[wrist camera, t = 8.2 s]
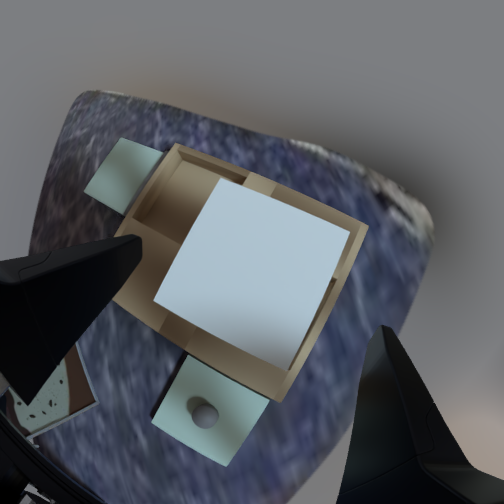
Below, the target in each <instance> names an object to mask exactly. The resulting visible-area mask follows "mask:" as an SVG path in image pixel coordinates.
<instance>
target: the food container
mask: <svg viewBox="0 0 504 504" xmlns="http://www.w3.org/2000/svg"><path fill="white" fill-rule="evenodd" d="M4 395H5V396H6V415H7V418H8V419H9V420H10V421H11V423H12V424H13V425H14V426H15V427H16V428H17V429H18V430H19V431H20V432H21V433H22V434H23V435H24V436H25V437H26V438H27V439H28V440H29V439H32V438H34V437H36V436H38V435H40V434H42V433H44V432H46V431H48V430H50V429H52V428H54V427H56V426H58V425H60V424H62V423H64V422H66V421H68V420H70V419H72V418H74V417H76V416H77V415H79V414H81V413H83V412H85V411H87V410H89V409H91V408H93V407H94V406H96V405H98V404H100V403H99V400H98V398H97V395H96V393H95V390H94V388H93V385H92V382H91V380H90V377H89V374H88V371H87V368H86V365H85V362H84V359H83V356H82V353H81V350H80V347H79V343H78V341H77V342H76V343H75V344H74V346H73V347H72V348H71V349H70V351H69V352H68V353H67V354H66V356H65V357H64V358H63V360H62V361H61V362H60V364H59V365H58V366H57V368H56V369H55V370H54V372H53V373H52V374H51V376H50V377H49V378H48V380H47V381H46V383H45V384H44V385H43V387H42V388H41V389H40V391H39V392H38V394H37V395H36V396H35V398H34V399H33V401H32V402H31V404H30V405H29V406H27V405H26V404H25V403H24V402H23V401H22V400H21V399H20V398H19V397H18V396H17V395H16V394H15V393H14V391H13V390H12V389H11V388H10V387H9V388H8V389H7V390H6V392H5V393H4ZM34 446H35V447H36V448H38V447H39V445H34Z"/></svg>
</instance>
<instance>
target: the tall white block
mask: <svg viewBox="0 0 504 504" xmlns="http://www.w3.org/2000/svg"><path fill="white" fill-rule="evenodd" d="M349 234H350V232H349V231H347V230H345V229H343V228H340V227H338V226H336V225H334V224H332V223H329V222H327V221H325V220H323V219H320V218H318V217H316V216H313V215H311V214H309V213H307V212H304V211H302V210H300V209H297V208H295V207H292V206H290V205H288V204H285V203H283V202H281V201H278V200H276V199H273V198H271V197H268V196H266V195H263V194H261V193H258V192H256V191H253V190H251V189H248V188H246V187H243V186H241V185H238V184H236V183H233V182H230V181H228V180H225V179H223V178H220V180H219V181H218V183H217V185H216V186H215V188H214V190H213V191H212V193H211V195H210V196H209V198H208V200H207V202H206V203H205V205H204V207H203V209H202V210H201V212H200V214H199V216H198V217H197V219H196V221H195V223H194V224H193V226H192V228H191V230H190V232H189V233H188V235H187V237H186V239H185V241H184V243H183V244H182V246H181V248H180V250H179V252H178V254H177V256H176V257H175V259H174V261H173V263H172V265H171V267H170V269H169V271H168V273H167V275H166V276H165V278H164V280H163V282H162V284H161V286H160V288H159V290H158V292H157V294H156V296H155V298H154V300H153V301H155V302H156V303H158V304H160V305H161V306H163V307H165V308H166V309H168V310H170V311H172V312H173V313H175V314H177V315H178V316H180V317H182V318H184V319H185V320H187V321H189V322H191V323H193V324H194V325H196V326H198V327H200V328H202V329H203V330H205V331H207V332H209V333H211V334H213V335H214V336H216V337H218V338H220V339H222V340H224V341H226V342H228V343H230V344H232V345H234V346H236V347H238V348H239V349H241V350H243V351H245V352H247V353H249V354H252V355H254V356H256V357H258V358H260V359H262V360H264V361H266V362H268V363H270V364H272V365H274V366H277V367H279V368H281V369H283V370H285V371H287V370H288V368H289V366H290V364H291V362H292V360H293V358H294V356H295V355H296V353H297V351H298V349H299V347H300V345H301V342H302V340H303V338H304V336H305V334H306V332H307V330H308V328H309V326H310V324H311V322H312V320H313V318H314V315H315V313H316V311H317V309H318V307H319V305H320V302H321V300H322V298H323V296H324V293H325V291H326V289H327V287H328V284H329V282H330V280H331V277H332V275H333V273H334V270H335V268H336V266H337V263H338V261H339V258H340V256H341V254H342V251H343V249H344V246H345V244H346V241H347V239H348V236H349Z"/></svg>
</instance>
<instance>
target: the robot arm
mask: <svg viewBox="0 0 504 504" xmlns="http://www.w3.org/2000/svg"><path fill="white" fill-rule="evenodd" d="M142 256H143V248H142V238H141V237H140V236H137V235H135V234H128V235H123V236H118V237H113V238H109V239H104V240H99V241H94V242H90V243H85V244H80V245H76V246H71V247H67V248H62V249H58V250H54V251H49V252H45V253H40V254H36V255H31V256H26V257H20V258H15V259H9V260H4V261H0V504H107V503H105V502H104V501H102V500H101V499H99V498H98V497H96V496H95V495H93V494H92V493H91V492H89V491H88V490H86V489H85V488H84V487H82V486H81V485H79V484H78V483H77V482H76V481H74V480H73V479H72V478H70V477H69V476H68V475H67V474H65V473H64V472H63V471H62V470H60V469H59V468H58V467H57V466H56V465H54V464H53V463H52V462H51V461H50V460H49V459H48V458H47V457H45V456H44V455H43V454H42V453H41V452H40V451H39V450H38V449H37V448H36V447H35V446H34V445H33V444H32V443H31V442H30V441H29V440H28V439H27V438H26V437H25V436H24V435H23V434H22V433H21V432H20V431H19V430H18V429H17V428H16V427H15V426H14V425H13V424H12V423H11V421H10V420H9V419H8V418H7V415H6V396H5V395H4V393H5V392H6V390H7V389H8V388H9V387H10V388H11V389H12V390H13V391H14V393H15V394H16V395H17V396H18V397H19V398H20V399H21V400H22V401H23V402H24V403H25V404H26V405H27V406H29V405H30V404H31V402H32V401H33V399H34V398H35V396H36V395H37V394H38V392H39V391H40V389H41V388H42V387H43V385H44V384H45V383H46V381H47V380H48V378H49V377H50V376H51V374H52V373H53V372H54V370H55V369H56V368H57V366H58V365H59V364H60V362H61V361H62V360H63V358H64V357H65V356H66V354H67V353H68V352H69V351H70V349H71V348H72V347H73V346H74V344H75V343H76V342H77V341H78V339H79V338H80V337H81V336H82V334H83V333H84V332H85V331H86V329H87V328H88V327H89V326H90V325H91V323H92V322H93V321H94V320H95V318H96V317H97V316H98V315H99V314H100V313H101V311H102V310H103V309H104V308H105V307H106V305H107V304H108V303H109V302H110V301H111V300H112V299H113V297H114V296H115V295H116V294H117V293H118V292H119V290H120V289H121V288H122V286H123V285H124V284H125V282H126V281H127V280H128V278H129V277H130V275H131V274H132V273H133V271H134V270H135V268H136V267H137V266H138V264H139V263H140V262H141V260H142ZM433 402H434V401H433V399H432V397H431V395H430V393H429V391H428V389H427V388H426V386H425V384H424V382H423V380H422V379H421V377H420V375H419V373H418V372H417V370H416V368H415V366H414V365H413V363H412V361H411V359H410V358H409V356H408V355H407V353H406V351H405V349H404V348H403V346H402V344H401V342H400V341H399V339H398V338H397V336H396V334H395V333H394V331H393V329H392V328H390V327H387V326H384V325H380V326H379V327H378V329H377V330H376V332H375V333H374V335H373V336H372V338H371V339H370V341H369V343H368V346H367V351H366V356H365V360H364V365H363V369H362V374H361V378H360V383H359V389H358V396H357V404H356V411H355V417H354V423H353V429H352V435H351V441H350V446H349V451H348V457H347V461H346V465H345V470H344V475H343V478H342V483H341V487H340V491H339V495H338V498H337V501H336V504H504V480H501V479H499V478H496V477H494V476H491V475H489V474H486V473H484V472H482V471H479V470H477V469H476V468H474V467H473V466H472V465H471V464H470V463H469V461H468V460H467V458H466V457H465V455H464V453H463V452H462V450H461V448H460V447H459V445H458V443H457V441H456V440H455V438H454V436H453V435H452V433H451V432H450V430H449V428H448V426H447V425H446V423H445V421H444V420H443V417H442V416H441V414H440V412H439V410H438V408H437V406H436V404H435V403H433ZM28 483H29V484H30V485H32V486H33V487H35V488H36V489H37V490H38V491H37V492H38V493H39V494H40V495H42V496H44V497H45V498H47V499H49V500H50V502H48V501H46V500H44V499H43V498H41V497H39V496H37V495H35V494H32V493H30V492H28V491H25V490H24V489H25V487H26V486H27V485H28Z"/></svg>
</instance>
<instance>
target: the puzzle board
mask: <svg viewBox="0 0 504 504" xmlns="http://www.w3.org/2000/svg"><path fill="white" fill-rule="evenodd" d="M220 178H223V179H225V180H228V181H230V182H233V183H236V184H238V185H241V186H243V187H246V188H248V189H251V190H253V191H256V192H258V193H261V194H263V195H266V196H268V197H271V198H273V199H276V200H278V201H281V202H283V203H285V204H288V205H290V206H292V207H295V208H297V209H300V210H302V211H304V212H307V213H309V214H311V215H313V216H316V217H318V218H320V219H323V220H325V221H327V222H329V223H332V224H334V225H336V226H338V227H340V228H343V229H345V230H347V231H349V232H350V234H349V236H348V239H347V241H346V244H345V246H344V249H343V251H342V254H341V256H340V258H339V261H338V263H337V266H336V268H335V270H334V273H333V275H332V277H331V280H330V282H329V284H328V287H327V289H326V291H325V293H324V296H323V298H322V300H321V302H320V305H319V307H318V309H317V311H316V313H315V315H314V318H313V320H312V322H311V324H310V326H309V328H308V330H307V332H306V334H305V336H304V338H303V340H302V342H301V345H300V347H299V349H298V351H297V353H296V355H295V356H294V358H293V360H292V362H291V364H290V366H289V368H288V370H287V371H285V370H283V369H281V368H279V367H277V366H274V365H272V364H270V363H268V362H266V361H264V360H262V359H260V358H258V357H256V356H254V355H252V354H249V353H247V352H245V351H243V350H241V349H239V348H238V347H236V346H234V345H232V344H230V343H228V342H226V341H224V340H222V339H220V338H218V337H216V336H214V335H213V334H211V333H209V332H207V331H205V330H203V329H202V328H200V327H198V326H196V325H194V324H193V323H191V322H189V321H187V320H185V319H184V318H182V317H180V316H178V315H177V314H175V313H173V312H172V311H170V310H168V309H166V308H165V307H163V306H161V305H160V304H158V303H156V302H155V301H153V300H154V298H155V296H156V294H157V292H158V290H159V288H160V286H161V284H162V282H163V280H164V278H165V276H166V275H167V273H168V271H169V269H170V267H171V265H172V263H173V261H174V259H175V257H176V256H177V254H178V252H179V250H180V248H181V246H182V244H183V243H184V241H185V239H186V237H187V235H188V233H189V232H190V230H191V228H192V226H193V224H194V223H195V221H196V219H197V217H198V216H199V214H200V212H201V210H202V209H203V207H204V205H205V203H206V202H207V200H208V198H209V196H210V195H211V193H212V191H213V190H214V188H215V186H216V185H217V183H218V181H219V180H220ZM84 192H85V193H86V194H88V195H89V196H91V197H93V198H94V199H96V200H98V201H99V202H101V203H103V204H105V205H106V206H108V207H110V208H111V209H113V210H115V211H117V212H118V213H120V214H122V215H123V216H125V219H124V220H123V222H122V224H121V225H120V227H119V229H118V230H117V232H116V234H115V236H114V237H118V236H123V235H128V234H135V235H137V236H140V237H141V238H142V248H143V256H142V260H141V262H140V263H139V264H138V266H137V267H136V268H135V270H134V271H133V273H132V274H131V275H130V277H129V278H128V280H127V281H126V282H125V284H124V285H123V286H122V288H121V289H120V290H119V292H118V293H117V294H116V295H115V296H114V297H113V299H112V300H113V301H115V302H116V303H117V304H119V305H120V306H121V307H123V308H124V309H125V310H127V311H128V312H130V313H131V314H132V315H134V316H135V317H136V318H138V319H139V320H141V321H142V322H144V323H145V324H146V325H148V326H149V327H151V328H152V329H154V330H155V331H157V332H158V333H160V334H161V335H162V336H164V337H166V338H167V339H169V340H170V341H172V342H173V343H175V344H176V345H178V346H179V347H181V348H182V349H184V350H186V351H187V352H189V353H190V354H189V355H188V356H187V358H186V360H185V362H184V363H183V365H182V367H181V369H180V371H179V372H178V374H177V376H176V378H175V380H174V382H173V383H172V385H171V387H170V389H169V391H168V393H167V394H166V396H165V398H164V400H163V402H162V404H161V405H160V407H159V409H158V411H157V413H156V415H155V416H154V418H153V420H152V422H151V423H153V424H154V425H156V426H157V427H159V428H160V429H162V430H163V431H165V432H166V433H168V434H169V435H171V436H172V437H174V438H176V439H177V440H179V441H181V442H182V443H184V444H185V445H187V446H189V447H191V448H192V449H194V450H196V451H197V452H199V453H201V454H203V455H205V456H206V457H208V458H210V459H212V460H214V461H216V462H218V463H220V464H222V465H223V466H225V467H226V466H227V465H228V464H229V462H230V461H231V459H232V458H233V456H234V455H235V454H236V452H237V451H238V449H239V448H240V446H241V445H242V443H243V442H244V440H245V439H246V437H247V436H248V434H249V433H250V431H251V430H252V428H253V426H254V425H255V423H256V422H257V420H258V419H259V417H260V415H261V414H262V412H263V411H264V409H265V407H266V406H267V404H268V402H269V401H270V398H271V399H273V400H275V401H277V402H279V403H281V402H282V400H283V398H284V397H285V395H286V393H287V392H288V390H289V388H290V387H291V385H292V383H293V381H294V380H295V378H296V376H297V375H298V373H299V371H300V369H301V367H302V366H303V364H304V362H305V360H306V358H307V357H308V355H309V353H310V351H311V349H312V347H313V345H314V344H315V342H316V340H317V338H318V336H319V334H320V332H321V330H322V328H323V326H324V324H325V322H326V320H327V318H328V316H329V314H330V312H331V310H332V308H333V306H334V304H335V302H336V300H337V298H338V296H339V294H340V292H341V289H342V287H343V285H344V283H345V281H346V279H347V276H348V274H349V272H350V270H351V267H352V265H353V263H354V261H355V258H356V256H357V254H358V251H359V249H360V246H361V244H362V242H363V239H364V237H365V234H366V232H367V229H368V227H369V226H368V225H366V224H364V223H362V222H360V221H358V220H356V219H354V218H352V217H350V216H348V215H346V214H344V213H342V212H340V211H338V210H336V209H334V208H331V207H329V206H327V205H325V204H323V203H321V202H319V201H317V200H315V199H312V198H310V197H308V196H306V195H304V194H301V193H299V192H297V191H295V190H293V189H290V188H288V187H286V186H284V185H281V184H279V183H277V182H274V181H272V180H270V179H267V178H265V177H263V176H260V175H258V174H255V173H253V172H251V171H248V170H246V169H243V168H241V167H238V166H236V165H233V164H231V163H228V162H226V161H223V160H220V159H218V158H215V157H213V156H210V155H207V154H205V153H202V152H199V151H197V150H194V149H191V148H188V147H186V146H183V145H180V144H177V143H175V144H174V146H173V147H172V148H171V150H170V151H165V152H164V153H163V152H160V151H157V150H155V149H152V148H149V147H146V146H144V145H141V144H138V143H135V142H133V141H130V140H127V139H124V138H120V140H119V141H118V142H117V144H116V145H115V146H114V148H113V149H112V150H111V152H110V153H109V155H108V156H107V157H106V159H105V160H104V162H103V163H102V164H101V166H100V167H99V169H98V170H97V172H96V173H95V175H94V176H93V178H92V179H91V181H90V182H89V184H88V185H87V187H86V189H85V190H84ZM191 354H192V355H191ZM193 355H194V356H195V357H194V356H193ZM196 357H197V358H196ZM198 358H199V359H200V360H199V359H198ZM201 360H202V361H201ZM203 361H204V362H205V363H204V362H203ZM206 363H207V364H206ZM208 364H209V365H210V366H209V365H208ZM211 366H212V367H211ZM213 367H214V368H215V369H214V368H213ZM216 369H217V370H216ZM218 370H219V371H218ZM220 371H221V372H222V373H221V372H220ZM223 373H224V374H223ZM225 374H226V375H225ZM227 375H228V376H227ZM229 376H230V377H231V378H230V377H229ZM232 378H233V379H232ZM234 379H235V380H234ZM236 380H237V381H236ZM238 381H239V382H240V383H239V382H238ZM241 383H242V384H241ZM243 384H244V385H243ZM245 385H246V386H245ZM247 386H248V387H247ZM249 387H250V388H249ZM251 388H252V389H251ZM253 389H254V390H256V391H257V392H256V391H254V390H253ZM258 392H259V393H258ZM260 393H261V394H260ZM262 394H263V395H262ZM264 395H265V396H264ZM266 396H267V397H266ZM268 397H269V398H268Z"/></svg>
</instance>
